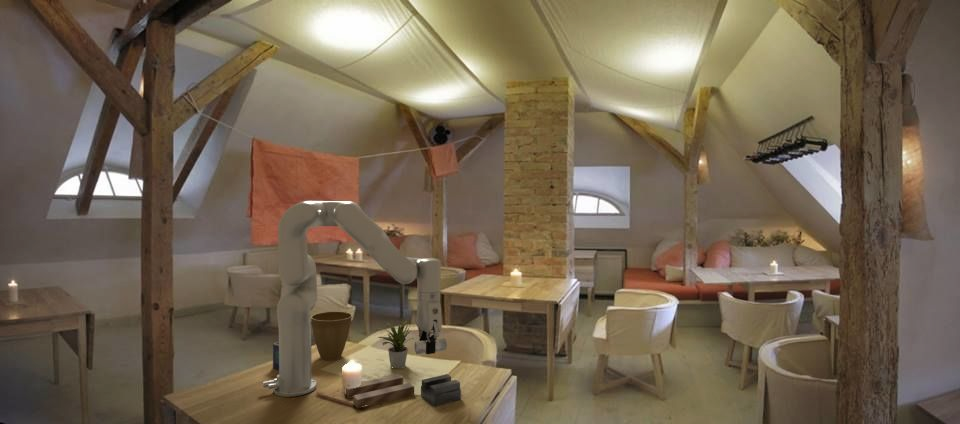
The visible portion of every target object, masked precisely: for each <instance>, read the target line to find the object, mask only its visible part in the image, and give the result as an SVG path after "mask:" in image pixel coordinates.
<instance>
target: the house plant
mask: <svg viewBox="0 0 960 424" xmlns="http://www.w3.org/2000/svg"><path fill="white" fill-rule="evenodd" d="M407 321H408V320H405V321H404V322H403V323H402V324H401V322H400V323H399V324H398V327H397V331H396V328H395V326H394V325H391V323H389V322H387V321H386V322H385V323H387V324H388V326H389V328H390V330H391V332H390V331H389V330H387V329H386V328H383V327H382V328H381V327H380V329H381V330H382V331H386V333H387V334H386V335H387V336H388V337H386V336H378V337H377V338H378V339H382V340H383V341H384V342H381V344H380V345H382V346H384V345H387V344H390V345H391V347H389V348H388V356H389V358H388V359H389V364H390V368H391V367H393V368H392V369H394V368H400V369H403V368H405V367H406V362H407V357H408V351H409V347H407V346H406V344H405V343H406V342H407V341H409V340H412V339H413V340H414V339H415V338H414V337H412V338H411V337H410V338H408V339H406V337H407V336H408V335H409V334H410V333H411V330H410V328H411V326H409V323H407ZM406 323H407V325H406ZM408 326H409V327H408ZM415 340H416V339H415ZM388 341H389V342H388ZM382 346H381V347H382Z"/></svg>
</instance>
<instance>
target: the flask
mask: <svg viewBox="0 0 960 424" xmlns="http://www.w3.org/2000/svg"><path fill="white" fill-rule="evenodd" d="M272 370H274V371H278V372H279V341H277V342H274V343H273V344H272Z"/></svg>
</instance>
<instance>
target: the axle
mask: <svg viewBox="0 0 960 424" xmlns="http://www.w3.org/2000/svg"><path fill="white" fill-rule="evenodd" d="M426 342H427V340H424V341H419V340H418V341H415V342H414V347H413V348H414V353H415V354H416V355H421V354H426ZM447 348H448V341H447V339H446V338H445V337H440V338H437V339H436V346H435V353H436V352H443V351H446V350H447Z"/></svg>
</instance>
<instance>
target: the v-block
mask: <svg viewBox="0 0 960 424" xmlns="http://www.w3.org/2000/svg"><path fill="white" fill-rule="evenodd" d="M420 396H421V397H422V398H423V399H424V400H426V401H427V402H428V403H429V404H431V405H432V406H434V407H437V406H441V405H445V404H448V403H452V402H453V403H454V402H456V401H459V400H461V399H462V389H461V382H460V381H459V380H457V379H453V380H452V376H451V375H449V374H448V373H446V374H441V375H437V376H432V377H429V378H425V379H421V385H420Z"/></svg>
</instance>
